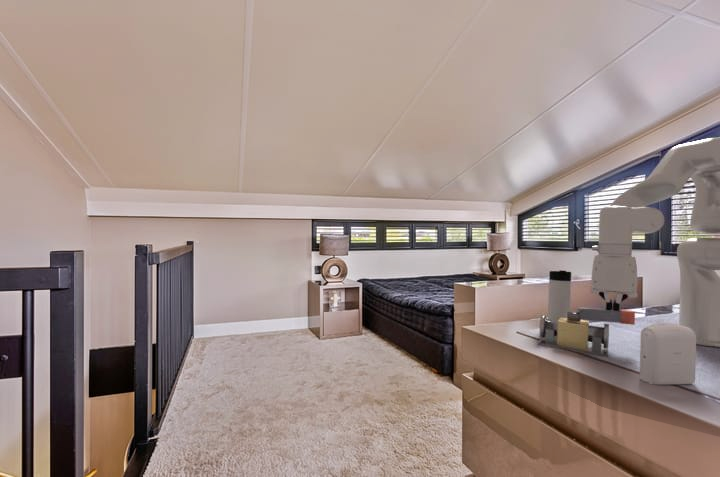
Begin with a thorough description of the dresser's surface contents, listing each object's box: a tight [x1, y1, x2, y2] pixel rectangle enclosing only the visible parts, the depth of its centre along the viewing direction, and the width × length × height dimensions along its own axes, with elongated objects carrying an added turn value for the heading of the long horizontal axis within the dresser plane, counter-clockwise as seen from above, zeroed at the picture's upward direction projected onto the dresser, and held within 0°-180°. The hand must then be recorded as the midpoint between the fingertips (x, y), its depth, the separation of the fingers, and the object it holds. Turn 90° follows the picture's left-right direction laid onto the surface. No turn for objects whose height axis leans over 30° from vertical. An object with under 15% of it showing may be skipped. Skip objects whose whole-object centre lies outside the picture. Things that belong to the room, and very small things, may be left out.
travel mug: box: [547, 269, 572, 321], centre depth 113 cm, size 6×7×20 cm
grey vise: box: [537, 314, 610, 358], centre depth 97 cm, size 16×10×7 cm, turn 55°
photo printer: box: [639, 322, 697, 385], centre depth 73 cm, size 10×4×12 cm, turn 96°
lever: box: [567, 307, 636, 325], centre depth 95 cm, size 16×3×4 cm, turn 74°
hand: (612, 316), depth 97 cm, fingers closed
